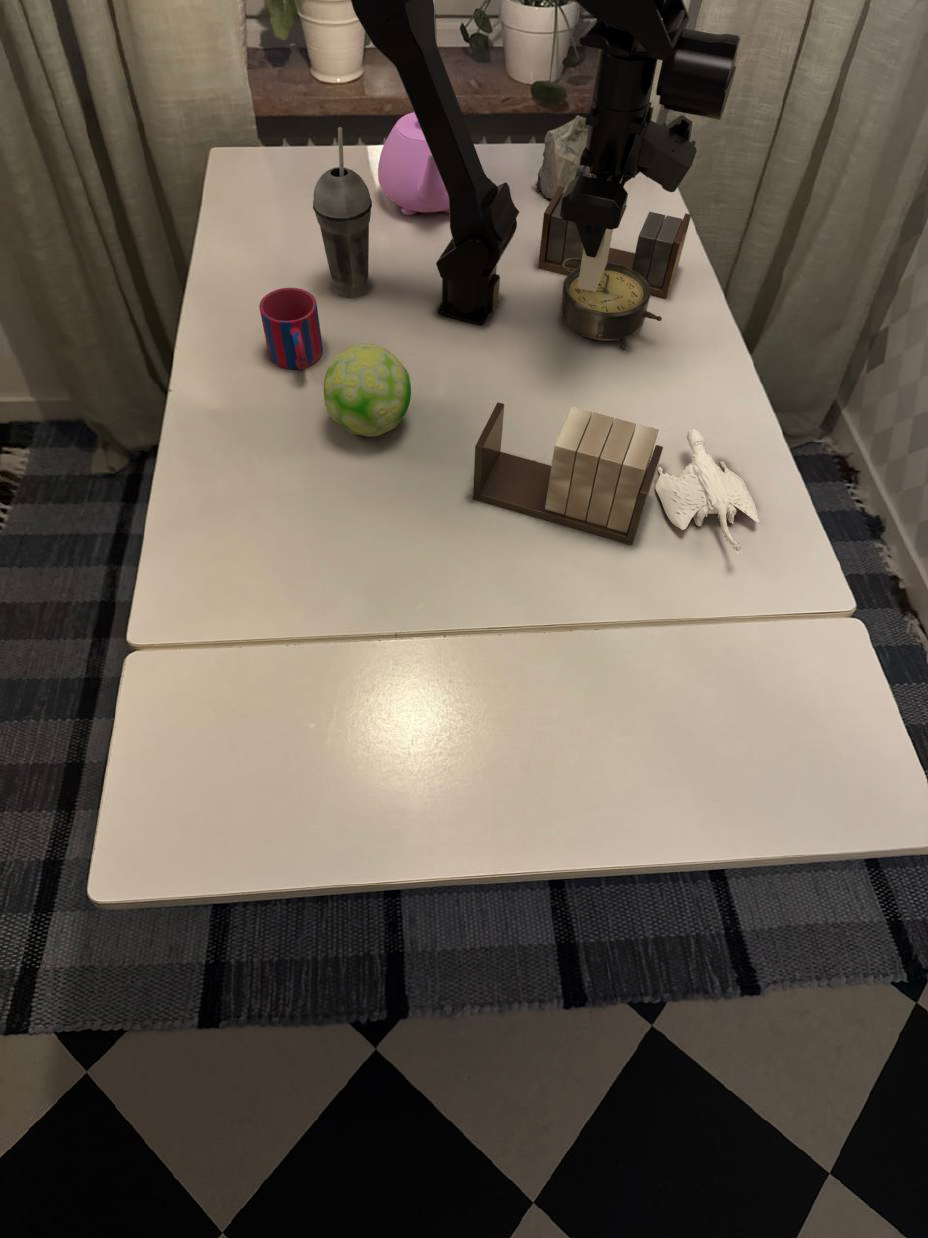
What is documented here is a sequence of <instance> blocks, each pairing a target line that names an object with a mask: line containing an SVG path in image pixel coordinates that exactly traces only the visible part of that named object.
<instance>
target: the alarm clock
mask: <svg viewBox="0 0 928 1238" xmlns="http://www.w3.org/2000/svg"><path fill="white" fill-rule="evenodd" d="M571 260H575V261H579V262H582V260H581V259H578V258H569V259H566V260H565V261H564V262H563V268H564V270H565V271H566V272H568V273H570V274H569V275H567V276H566V277H565V279H564V281H563V285H562V294H561V302H560V303H561V304H560V314H561V317H562V320H563V321H564V323H565V324H566V326H567V327H568V328H569V329H570V330H572V331H573V332H574V333H576V334H577V335H580V336H582V337H584V338H587V339H589V340H590V339H591V340H596V341H602V342H603V341H604V342H605V341H619V343H620V345H621V347H622V349H623V350H627V349H628V344H627V341H626V339H625V338H627V337H629V336H632V335H633V334H635V333H636V332H637V331H638V330H640V329H641V328H642V326H643V324H644V322H645V320H646V319H649V320H656V321H657V322H661V321H662V319H663V317H662V316H660V315H656V314H655V313H653V312H651V311H648V307H649V303H650V299H651V296H652V295H651V290H650V287H649V284H648V283H647V281H646V280H645V279H644V278H643V277H642V276H641V275H640V274H639V273H637V272H636V271H634V270H632V269H630V268H628V267H625V266H622V265H619V264H614V263H607V264H606V267H605V269H604V272H603V274H602V277H601V279H600V282H599V284H598V287H597V289H596V292H593V291H588V290H584V289H579V288H578V281H579V275H580V268H581V267H579V268H577V269H575V270H573V271H572V272H571V271H569V270H567V269H566V267H565V263H566V262H567V261H571Z"/></svg>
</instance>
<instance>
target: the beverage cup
mask: <svg viewBox="0 0 928 1238" xmlns="http://www.w3.org/2000/svg"><path fill="white" fill-rule="evenodd" d="M337 137H338V138H337V141H338V164H339V166H336V167H332V168H330V169H328V170H326V171H324V172H323V174H322V175H321V176H320V177H319V178H318V180H317V182H316V183H315V186H314V190H313V200H312V209H313V211H314V214H315V217H316V221H317V223H318V226H319V228H320V233H321V238H322V242H323V247H324V252H325V256H326V261H327V265H328V270H329V274H330V280H331V281H332V285H333V290H334V291H335V293H336V294H337V295H339V296H340V297H343V298H344V297H345V298H356V297H357V298H358V297H360V296H362V295H364V294H365V293H366V292H367V290H368V288H369V286H368V284H369V283H368V282H369V258H370V257H369V256H370V255H369V254H370V253H369V251H370V249H369V247H370V243H369V242H370V222H371V216H372V208H373V201H372V198H371V194H370V190H369V188H368V185H367V184H366V182H365V181H364V179H363V177H362V176H360V174H359V173H357V172H355V170H353V169H350V168H348V167H345V164H344V142H343V141H344V139H343V128H342V127H341V126H339V127H337Z"/></svg>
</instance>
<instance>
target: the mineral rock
mask: <svg viewBox="0 0 928 1238" xmlns="http://www.w3.org/2000/svg"><path fill="white" fill-rule="evenodd" d="M585 123H586V117H583V116H581V115H576V116H575V118H574V119H572V120H570V121H569V122H567V123H565V124H563V125H560V126H558V127H556V128H554V129H550V130H548V131H547V132H546V134H545V137H544V143H543V144H544V149H543V152H542V157H543V159H542V165H541V167H540V168H539V169H538V172H537V182H536V189H537V190H539V191H541V193H542V195H543V196H544V197H545V198H547V199H552V198H553V196H554V194H555V193H556V191H557V189H558V187H559V186H563V187H565V189H564V193H565V192H566V190H567V188H568V186H569V184H570V182H571V181H573V180H574V179H575V178H577V177H578V176H580V175H581V176H586V177H590V176H589V172H590V168H589V167H588V166H583V165H580V160H581V155H582V153H583V150H584V148H585V146H586V142H587V135H588V128H589V125H585Z"/></svg>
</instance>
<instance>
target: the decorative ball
mask: <svg viewBox="0 0 928 1238" xmlns="http://www.w3.org/2000/svg"><path fill="white" fill-rule="evenodd" d="M411 397H412V383H411V377H410V373H409V371H408V370H407V369H406V367H405V365H404V364H403V363H402V362H401V361H400V359H399V358H398V357H397V356H396V354H395V353H392V352H391V351H390V350H389V349H387V348H385V347H384V346H381V345H380V346H379V345H375V344H368V343H361V344H355V345H352V346H349V348H347V349H345V350H343V351H341V352H340V353H338V354H337V355H335V356H334V358H333V359H332V360H331V361H330V362H329V364H328V366H327V368H326V371H325V375H324V381H323V400H324V406H325V408H326V410H327V413H328V414H329V416H330V417H331V418H332V420H333V421H335V422H336V423H337V424H338V425H340V426H341V427H342V428H343V429H345V430H346V431H347V432H350V434H354V435H356V436H357V435H358V436H363V437H367V438H368V437H377V436H381V435H383V434H384V433H388V432H390V431H392V430H394V429H395V428H396V427H397V426H398V425H399V423H400V422H401V421H402V420H403V418H404V417H405V415H406V414H407V412H408V410H409V407H410V403H411Z"/></svg>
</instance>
